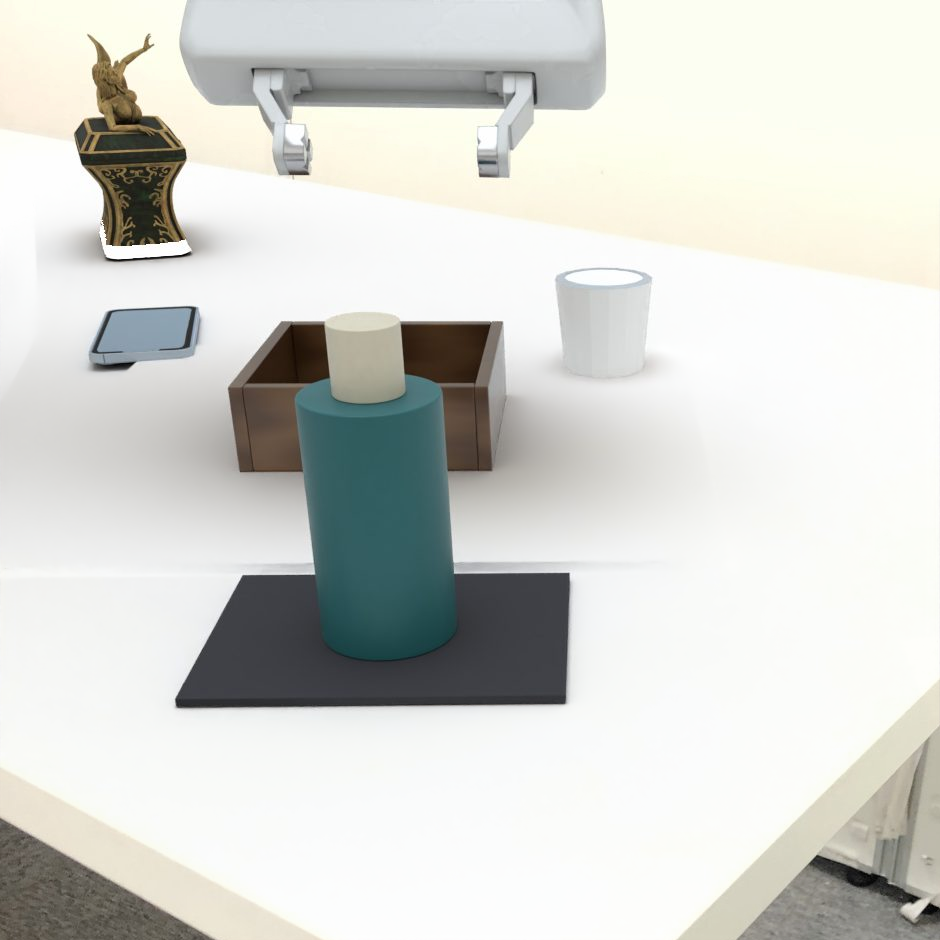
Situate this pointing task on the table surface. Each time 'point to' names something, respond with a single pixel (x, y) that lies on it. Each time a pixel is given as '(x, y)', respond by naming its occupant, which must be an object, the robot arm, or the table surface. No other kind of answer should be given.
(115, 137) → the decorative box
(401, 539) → the bottle
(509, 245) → the table surface
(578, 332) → the white cup
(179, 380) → the table surface
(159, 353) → the smartphone
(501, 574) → the mat
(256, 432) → the wooden box
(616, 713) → the table surface
